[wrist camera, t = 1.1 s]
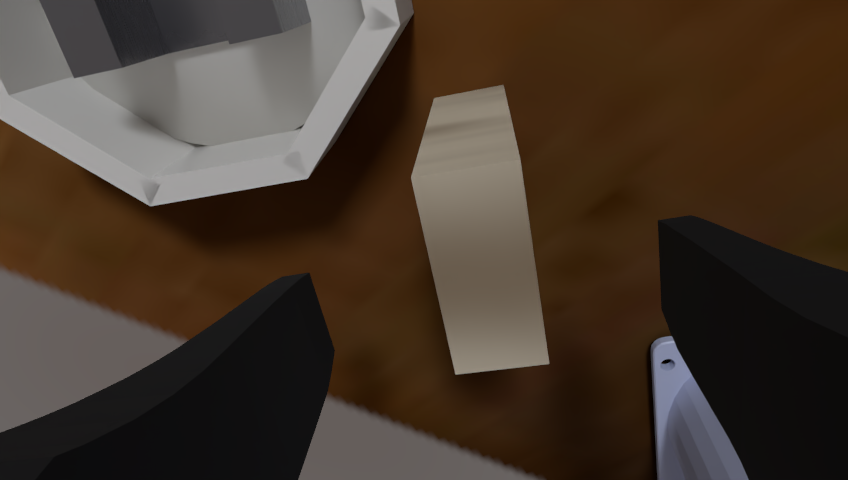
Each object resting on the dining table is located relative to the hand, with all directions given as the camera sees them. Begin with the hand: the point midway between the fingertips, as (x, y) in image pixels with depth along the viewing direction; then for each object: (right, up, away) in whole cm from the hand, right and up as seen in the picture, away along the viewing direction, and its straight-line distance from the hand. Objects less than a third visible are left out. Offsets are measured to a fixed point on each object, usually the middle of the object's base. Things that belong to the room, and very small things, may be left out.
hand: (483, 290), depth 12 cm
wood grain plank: (+1, +4, +7) cm, 8 cm away
